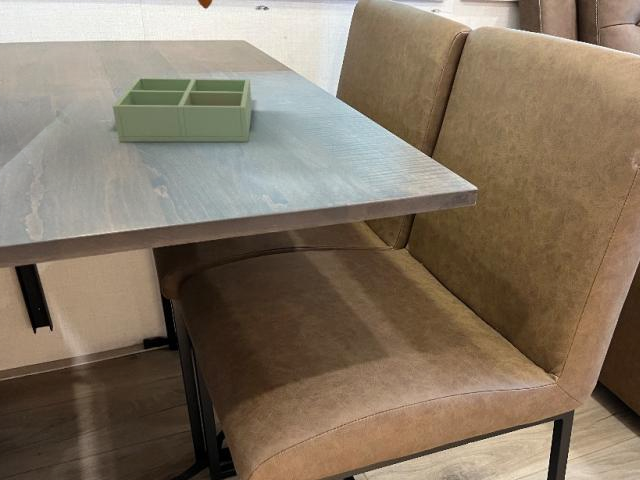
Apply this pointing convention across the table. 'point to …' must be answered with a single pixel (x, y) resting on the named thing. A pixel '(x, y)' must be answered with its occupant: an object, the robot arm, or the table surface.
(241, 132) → the grid
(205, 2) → the carrot
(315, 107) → the table surface
